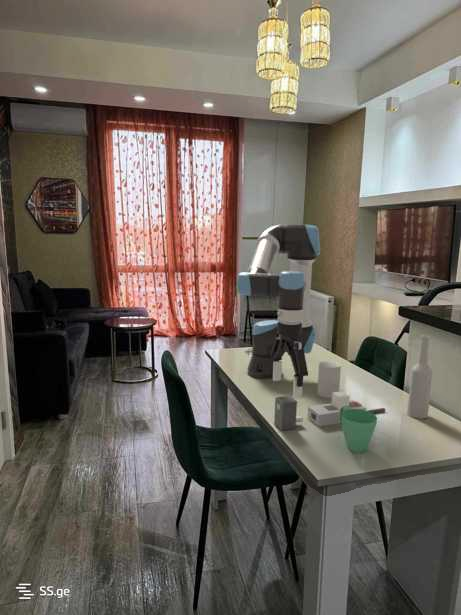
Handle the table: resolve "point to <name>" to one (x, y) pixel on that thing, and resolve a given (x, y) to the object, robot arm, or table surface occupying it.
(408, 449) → the table surface
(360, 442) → the mug
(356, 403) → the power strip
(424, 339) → the bottle
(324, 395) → the pale pink cylinder
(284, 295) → the robot arm
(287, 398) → the grey rectangular block
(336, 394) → the block
